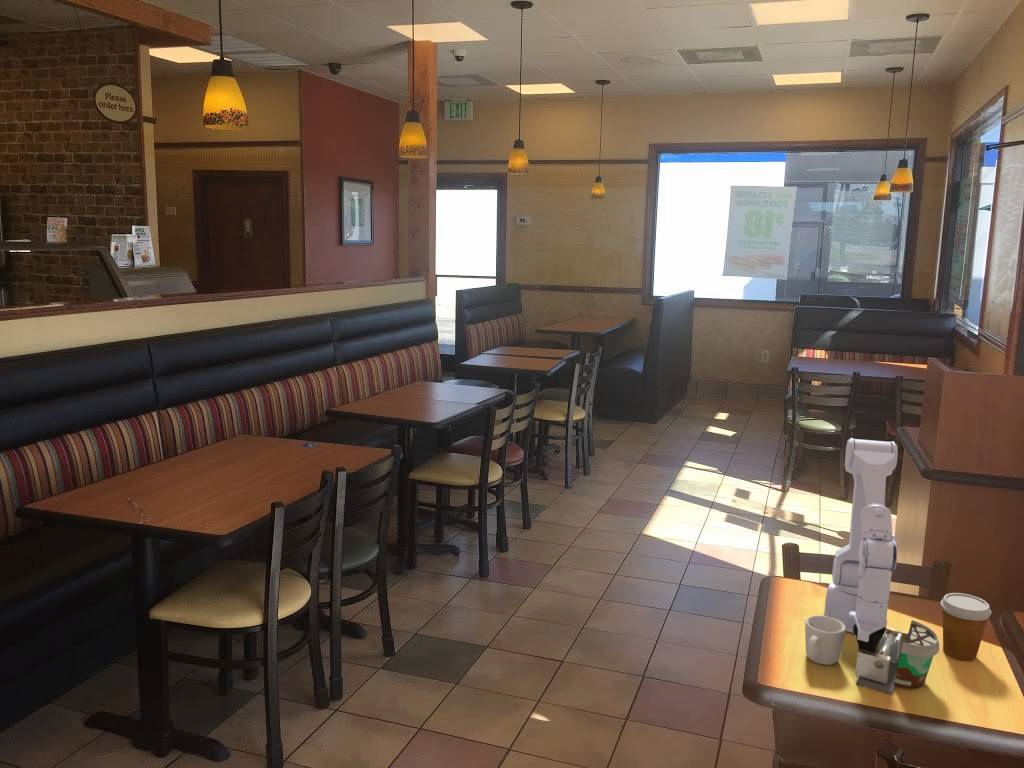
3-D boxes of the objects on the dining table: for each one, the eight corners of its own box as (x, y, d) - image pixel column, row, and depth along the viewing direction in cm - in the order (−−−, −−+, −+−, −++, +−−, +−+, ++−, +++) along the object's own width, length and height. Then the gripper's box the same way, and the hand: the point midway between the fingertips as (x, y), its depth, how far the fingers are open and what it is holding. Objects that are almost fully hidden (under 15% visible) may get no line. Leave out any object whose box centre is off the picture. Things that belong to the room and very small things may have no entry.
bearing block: (877, 660, 179) (880, 635, 178) (880, 653, 182) (883, 628, 181) (895, 665, 177) (898, 640, 176) (898, 658, 180) (901, 633, 179)
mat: (856, 684, 169) (856, 682, 169) (876, 642, 187) (876, 640, 187) (891, 694, 166) (892, 692, 166) (909, 650, 183) (909, 649, 183)
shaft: (855, 674, 171) (857, 651, 170) (868, 648, 182) (870, 626, 181) (886, 683, 168) (889, 660, 167) (897, 656, 179) (900, 634, 178)
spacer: (875, 649, 182) (877, 626, 181) (876, 647, 184) (878, 623, 183) (905, 657, 179) (908, 634, 178) (906, 655, 180) (909, 631, 179)
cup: (827, 678, 171) (831, 641, 170) (789, 664, 177) (793, 628, 175) (848, 659, 179) (852, 623, 178) (811, 645, 184) (815, 611, 183)
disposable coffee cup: (991, 667, 177) (998, 614, 175) (941, 662, 179) (948, 608, 176) (976, 645, 186) (983, 594, 184) (929, 640, 188) (935, 589, 186)
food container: (926, 701, 164) (937, 654, 162) (892, 688, 167) (902, 643, 165) (934, 673, 174) (944, 629, 172) (902, 662, 177) (911, 618, 175)
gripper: (859, 579, 178) (852, 640, 180) (843, 605, 166) (837, 669, 168) (895, 588, 174) (888, 649, 177) (882, 614, 162) (875, 680, 165)
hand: (866, 659), depth 172 cm, fingers closed
